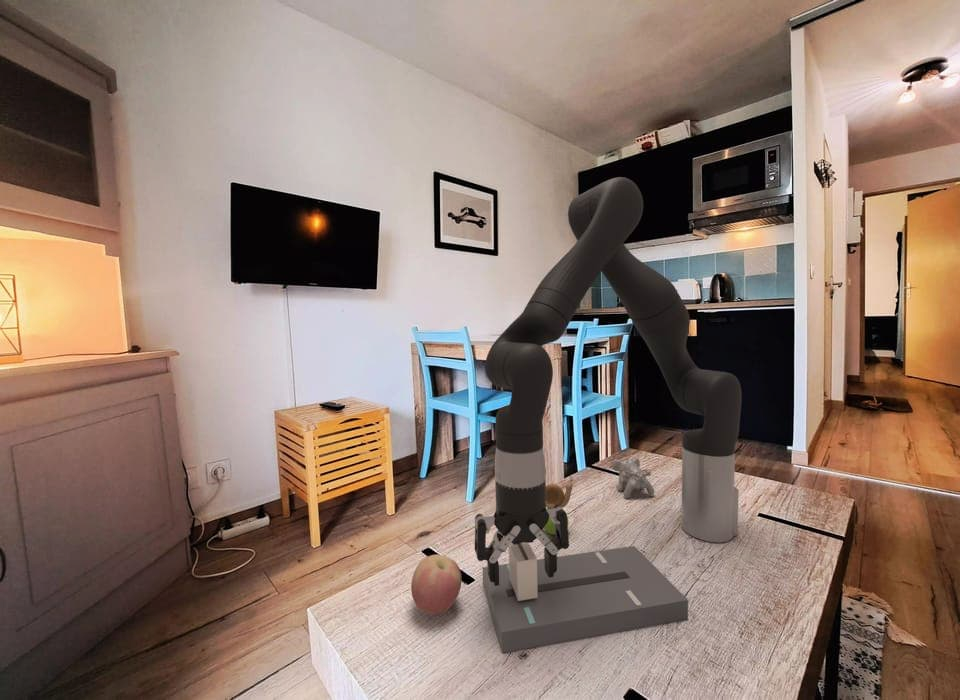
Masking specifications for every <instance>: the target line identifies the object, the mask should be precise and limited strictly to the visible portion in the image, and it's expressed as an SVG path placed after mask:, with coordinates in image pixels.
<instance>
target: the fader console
mask: <svg viewBox="0 0 960 700" xmlns="http://www.w3.org/2000/svg"><path fill="white" fill-rule="evenodd" d="M482 584H483V585H482V586H483V589H484V593H485V595H486V600H487V604H488V606H489V610H490V611H489V612H490V614H491V618H492V621H493V626H494V628H495V631H496V632H495V633H496V635H497V639H498V643H499V647H500V651H501V653H502V654H506V653H511V652H516V651H522V650H527V649H533V648H537V647H544V646H549V645H554V644H561V643H565V642H571V641H575V640H576V641H577V640H582V639H588V638H592V637H598V636H603V635H610V634H614V633H615V634H616V633H621V632H626V631H631V630H637V629H641V628H642V629H643V628H648V627H653V626H659V625H663V624H670V623H675V622H680V621H686V620H689V618H688V617H689V599H688V598H687V597H686V596H685V595H684V594H683V593H682V592H681V591H680V590H679V589H678V588H677V587H676V586H675V585H674V584H673V583H672V581H670V580H669V579H668V578H667V577H666V575H664V574H663V573H662V572H661V571H660V570H659V569H658V568H657V567H656V566H655V565H654V563H652V562H651V561H650V560H649V559H648V558H647V557H646V556H645V555H644V554H643V553H642V552H641V551H640V550H639V549H638V548H637V547H636V546H634V545H632V546H624V547H623V546H622V547H617V548H610V549H603V550H596V551H588V552H582V553H575V554H568V555H560V556H557V571H556V573H554V577H548V575H547V573H546V571H545V562H544V558H540V559H537V589H538V598H533V599H527V600H521V601H518V599H517V597H516V594H515V592H514V589H513V586H512V584H511V581H510V577H509V563H506V564H503V563H502V564H499V585H498V586H494V583H493V582H491V581H490V579H489V576H488V566H485V567H482Z"/></svg>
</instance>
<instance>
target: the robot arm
mask: <svg viewBox="0 0 960 700" xmlns="http://www.w3.org/2000/svg"><path fill="white" fill-rule="evenodd" d="M643 211H644V199H643V195H642V192H641V191H640V188H639V187H638V185H637V184H636V183H635V182H634V181H633V180H631V179H629V178H627V177H623V176H622V177H621V176H618V177H614V178H613V177H612V178H610V179H608V180H606V181H605V180H604V181H603V182H601V183H599V184H597V185H595V186H594V187H592V188H589V189H588V190H586V191H585V192H583V193H580V194H579V195H576V197H575V198H573V199H572V200H571V202H570V203H569V205H568V211H567V219H568V224H569V226H570V229H571V232H572V233H573V235H574V237H575V238H576V240H577V241H576V243H575V244H574V245H573V246H572V247H571V248H570V249H569V251H568V252H567V253H566V254H565V255H563V256H562V258H561V259H560V260H558V262H557V263H556V264H555V265H554V266H553V267H552V268H551V269H550V270H549V271H548V272H547V274H546V275H545V276H544V277H543V279H542V280H541V281H540V282H539V284H538V286H537V287H536V289H535V290H534V292H533V294H532V296H531V297H530V299H529V300H528V302H527V304H526V305H525V307H524V310H523V311H522V312H521V314H520V315H519V316H518V317H517V318H515V319H514V320H513V321H512V323H511V324H509V325H508V326H507V328H506V329H505V330H504V331H503V332H502V333H501V334H500V335H499V336H498V337H497V338H496V340H495V341H494V342H493V344H492V345H491V347H490V349H489V351H488V353H487V356H486V359H485V363H484V364H485V365H484V370H485V375H486V377H487V379H488V381H489V382H490V383H491V384H492V385H494V386H496V387H498V388H502V389H506V390H511V396H510V402H509V404H507V405H503V406H502V407H500V408H499V409H498V411H496V415H495V456H494V479H495V512H494V514H493V516H488V515H487V516H484V515H483V514H481V513H478V514H476V515H475V519H474V523H475V525H474V552H475V554H476V559H477V561H479V562H482V561H486V564H487V567H488V576H489V579H490V581H491V582H493V583H494V586H498V585H499V565H500V563H499V561H498V560H499V558H500V557H501V556H502V554H503V553H505V552H507V550H508V549H509V545H510V544H511V543H513V545H517V544H520V543H523V542H525V543H529V544H530V543H531V544H532V543H534V541H536V540H537V539H538V541H539V542H540V543H541V544H542V546H544V548H543V554H544V558H543V559H544V562H545V571H546V573H547V575H548V577H554V573H556V571H557V557H558V552H559V551H560V550H567V549H569V547H570V541H569V527H568V526H569V522H568V523H567V517H568V514H567V512H566V511H565V510H564V507H563V508H562V507H561V506H560V505H558V504H557V505H555V506H554V509H548V508H546V486H547V485H546V483H547V482H546V481H547V480H546V476H547V467H546V457H545V451H544V426H543V424H544V423H543V422H544V417H545V416H544V415H545V412H546V409H547V405H548V400H549V395H550V391H551V388H552V384H553V380H554V379H553V378H554V370H553V369H554V368H553V362H552V360H551V357H550V355H549V353H548V352H547V350H546V349H545V348H544V347H543V346H545V345H548V344H551V343H554V342H556V341H558V340H559V339H561V337H562V336H563V335H564V333H565V331H566V330H567V328H568V326H569V324H570V322H571V321H572V318H574V315H575V314H576V312H577V310H578V308H579V306H580V304H581V303H582V301H583V299H584V298H585V295H586V294H587V292H588V291H589V289H590V288H591V286H592V285H593V284H594V283H595V281H596V279H597V277H598V276H599V275H600V273H602V275H603V276H604V277H605V279H606V281H607V283H608V284H609V285H610V286H611V289H613V292H614V293H615V295H616V296H617V297H618V299H619V301H620V302H621V304H622V306H623V307H624V309H625V312H626V313H627V315H628V316H629V319H630V321H631V322H632V323H633V325H634V326H635V328H636V330H637V332H638V333H639V335H640V336H641V337H642V339H643V340H644V342H645V344H646V345H647V347H648V349H649V351H650V353H651V354H652V356H653V358H654V360H655V362H656V364H657V365H658V368H659V369H660V371H661V373H662V376H663V378H664V380H665V382H666V384H667V387H668V389H669V391H670V394H671V396H672V397H673V399H674V401H675V402H676V404H677V406H679V408H681V409H682V410H684V411H685V412H688V413H692V414H696V415H698V416H699V415H700V416H703V417H704V418H703V419H704V421H703V426H702V428H696V429H695V428H694V429H689V430H687V431H685V432H683V434H682V439H681V440H682V441H681V442H682V445H681V452H682V453H681V519H680V520H681V528H682V529H683V531H684V532H685V533H687V534H688V535H689V536H691V537H693V538H695V539H698V540H702V541H706V542H710V543H726V542H730V541H732V540H733V538H734V537H736V536H738V534H739V533H738V531H739V530H738V529H739V489H738V488H737V487H735V469H736V467H735V465H736V462H735V461H736V460H735V459H736V458H735V457H736V445H737V441H738V437H739V433H740V423H741V422H740V421H741V411H742V410H741V409H742V399H743V397H742V396H743V395H742V392H743V391H742V388H741V382H739V379H738V378H737V377H736V376H735V375H734V374H733V373H730V372H726V371H718V370H712V369H701V368H699V367H698V366H697V365H696V364H695V362H694V361H693V359H692V357H691V356H690V354H689V352H688V349H687V340H688V335H689V330H690V325H691V323H690V322H691V320H690V319H691V318H690V313H689V311H688V309H687V307H686V304H685V303H684V301H683V299H682V298H681V295H680V294H679V291H678V290H677V288H676V287H675V285H674V284H673V282H671V281H670V280H669V279H668V278H667V277H665V276H664V275H663V274H661V273H660V272H658V271H656V269H653V268H652V267H651V266H649V265H648V264H646V263H644V262H642V261H641V260H640V259H638V258H637V257H636V256H635V255H633V253H632V252H631V251H630V249H628V248H627V247H626V245H625V244H624V243H625V241H626V240H627V239H628V238H629V236H631V234H632V233H633V232H634V230H635V229H636V228H637V226H638V224H639V223H640V221H641V218H642V216H643V213H644V212H643ZM546 509H548V510H546ZM549 518H551V520H552V521H553V523H554V524H555V534H556V535H555V537H553V538H551V537H550V536H549V535H548V534H547V532H545V531H546V530H545V529H544V527H545V525H546V524H547V522H548V520H549ZM493 526H495V528H496V532H495V533H494V534H493V536H492V540H491V542H490V543H489V544H488V546H486V543H487V540H486V539H487V534H489V532H490V531H491V528H492V527H493Z"/></svg>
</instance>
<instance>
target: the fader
mask: <svg viewBox="0 0 960 700" xmlns="http://www.w3.org/2000/svg"><path fill="white" fill-rule="evenodd" d="M537 560H538V559H537V557H536V555H535V553H534V551H533V549H532V547H531V545H530V543H525V542H523V543H520V544H517V545H513V543H511V544H510V545H509V547H508V564H509V577H510V581H511V584H512V586H513V589H514V592H515V594H516V597H517V599H518V601H521V600H527V599H533V598H538V589H537Z"/></svg>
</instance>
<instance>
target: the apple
mask: <svg viewBox="0 0 960 700" xmlns="http://www.w3.org/2000/svg"><path fill="white" fill-rule="evenodd" d="M461 572H462V571H461V569H460V566H459V564H458V563H457V562H456V561H455V560H454V559H452V558H451V557H449V556H445V555H441V554H431V555H428V556H427V557H425V558H423V559H422V560H421V561H420V562H419V563H418V564H417V566H416V567H415V569H414V571H413V574H412V579H411V583H410V584H411V585H410V589H411V590H410V591H411V596H412V599H413V602H414V603H415V605H416V607H417V608H418V609H419V610H421V612H423V613H426V614H428V615H429V614H431V615H440V614H443V613H446V612H447V611H449V609H450V608H451V607H452V606H453V604H455V602H456V600H457V598H458V596H459V594H460V591H461V586H462V573H461Z"/></svg>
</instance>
